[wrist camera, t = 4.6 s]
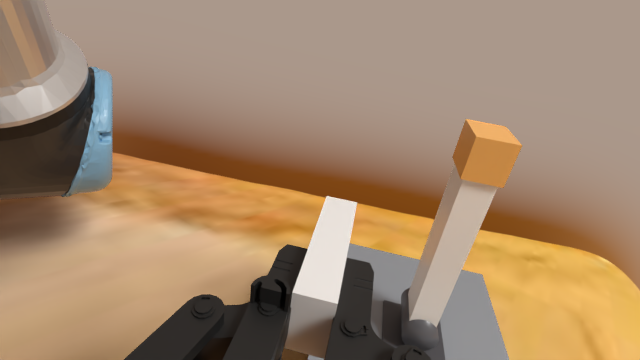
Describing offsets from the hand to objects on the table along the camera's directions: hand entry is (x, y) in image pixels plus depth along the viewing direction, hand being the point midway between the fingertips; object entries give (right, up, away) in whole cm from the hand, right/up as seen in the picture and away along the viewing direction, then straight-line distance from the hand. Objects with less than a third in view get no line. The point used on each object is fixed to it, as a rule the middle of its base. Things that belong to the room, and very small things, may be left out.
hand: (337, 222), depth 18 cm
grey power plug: (+6, -16, +18) cm, 25 cm away
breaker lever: (+6, -9, +8) cm, 14 cm away
